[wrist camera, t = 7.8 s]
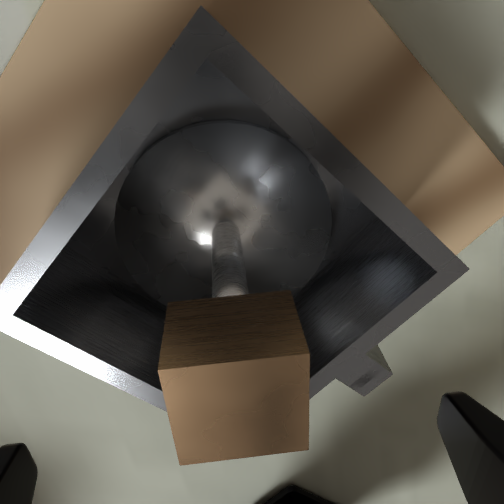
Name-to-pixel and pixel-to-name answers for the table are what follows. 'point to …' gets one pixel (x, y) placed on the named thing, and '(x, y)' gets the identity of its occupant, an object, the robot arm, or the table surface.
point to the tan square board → (270, 57)
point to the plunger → (227, 282)
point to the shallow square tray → (154, 313)
